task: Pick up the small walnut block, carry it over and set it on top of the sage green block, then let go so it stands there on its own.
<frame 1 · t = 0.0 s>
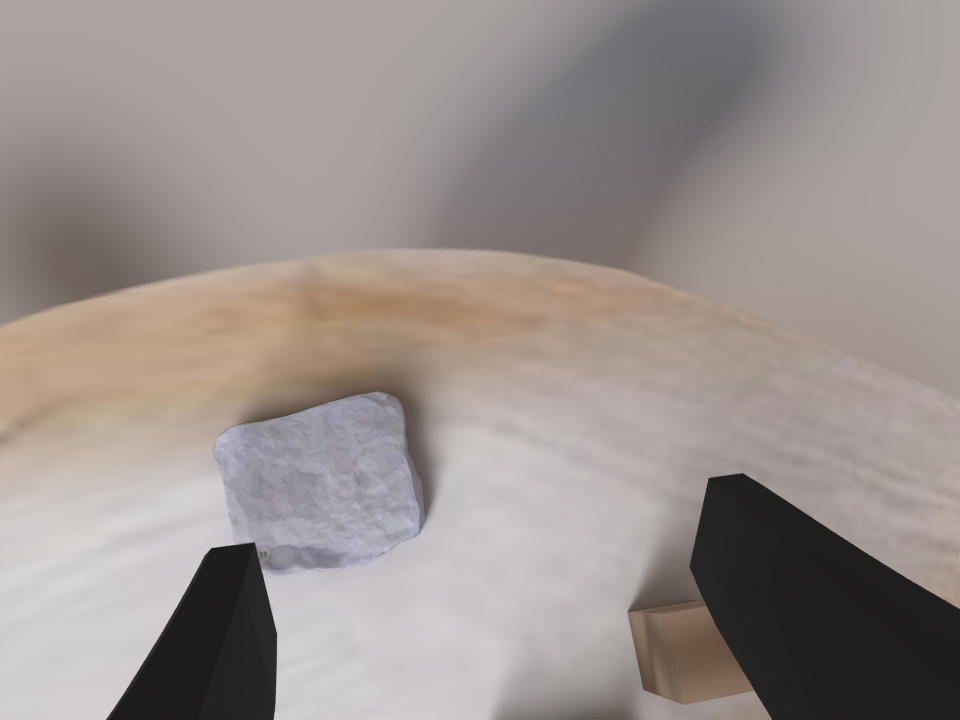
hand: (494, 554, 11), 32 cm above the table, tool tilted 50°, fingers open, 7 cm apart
walnut block: (669, 643, 41), on the table
stone block: (328, 494, 42), on the table
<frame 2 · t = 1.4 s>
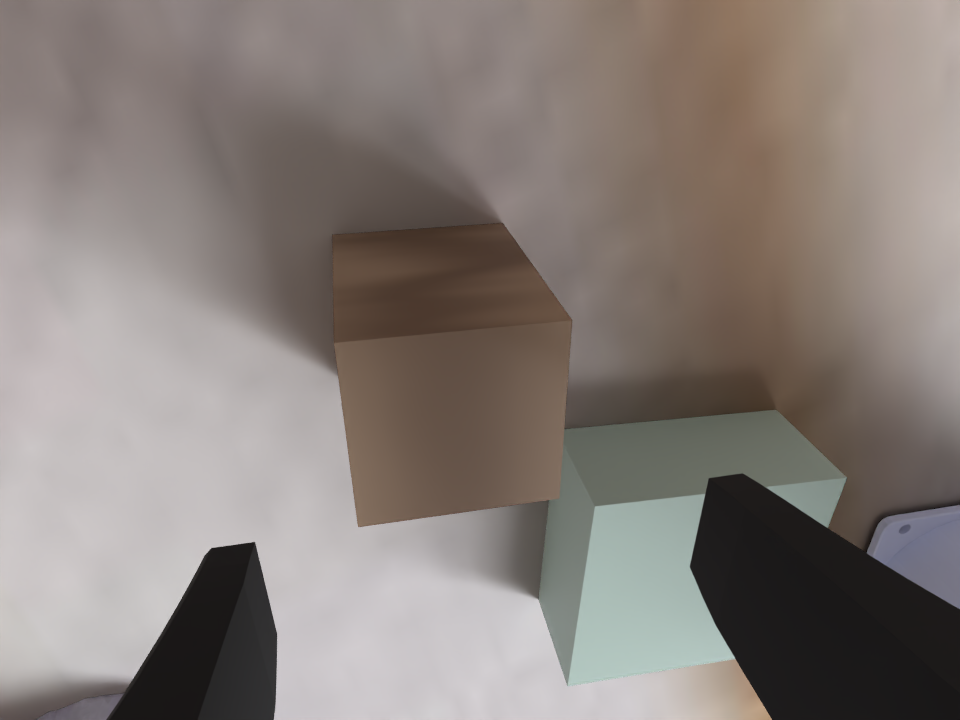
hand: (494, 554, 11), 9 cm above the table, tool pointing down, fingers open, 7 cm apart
sage block: (648, 504, 25), on the table
walnut block: (423, 305, 19), on the table
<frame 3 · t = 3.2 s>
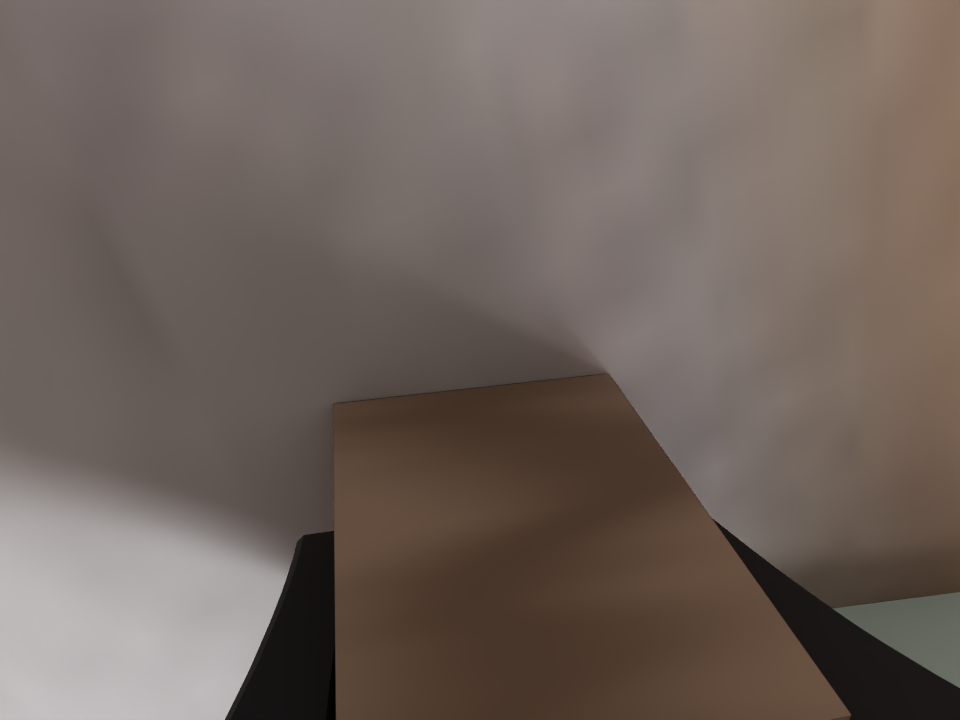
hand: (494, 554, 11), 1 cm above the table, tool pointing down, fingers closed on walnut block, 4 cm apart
sage block: (769, 703, 18), on the table
walnut block: (476, 495, 12), on the table, touching gripper
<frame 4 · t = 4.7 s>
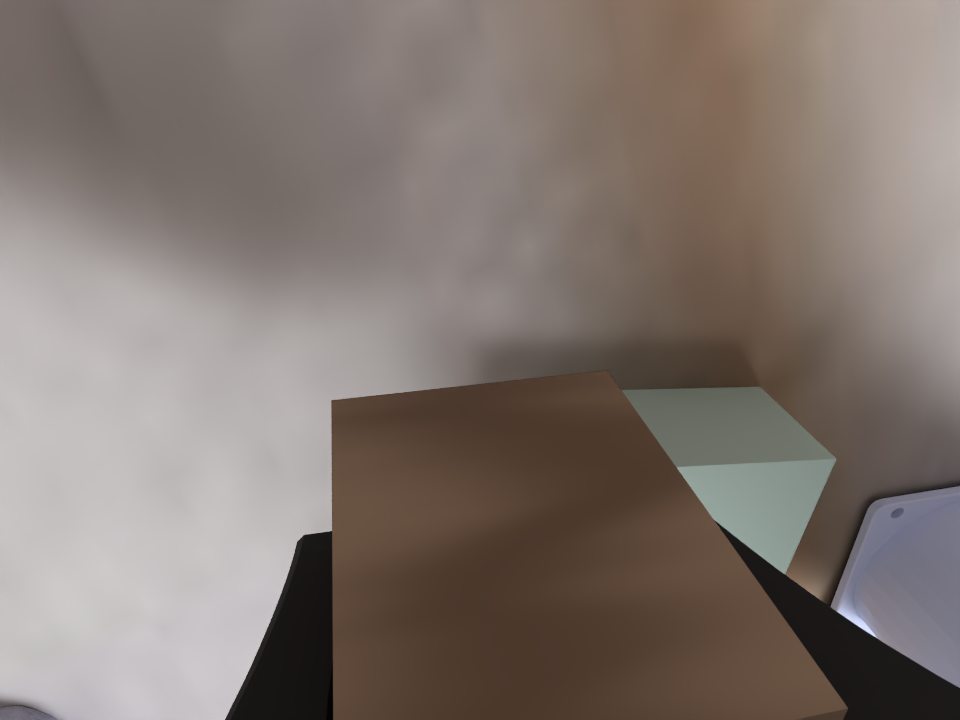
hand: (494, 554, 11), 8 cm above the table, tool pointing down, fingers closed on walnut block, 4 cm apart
sage block: (615, 485, 22), on the table
walnut block: (475, 492, 12), point 7 cm above the table, touching gripper
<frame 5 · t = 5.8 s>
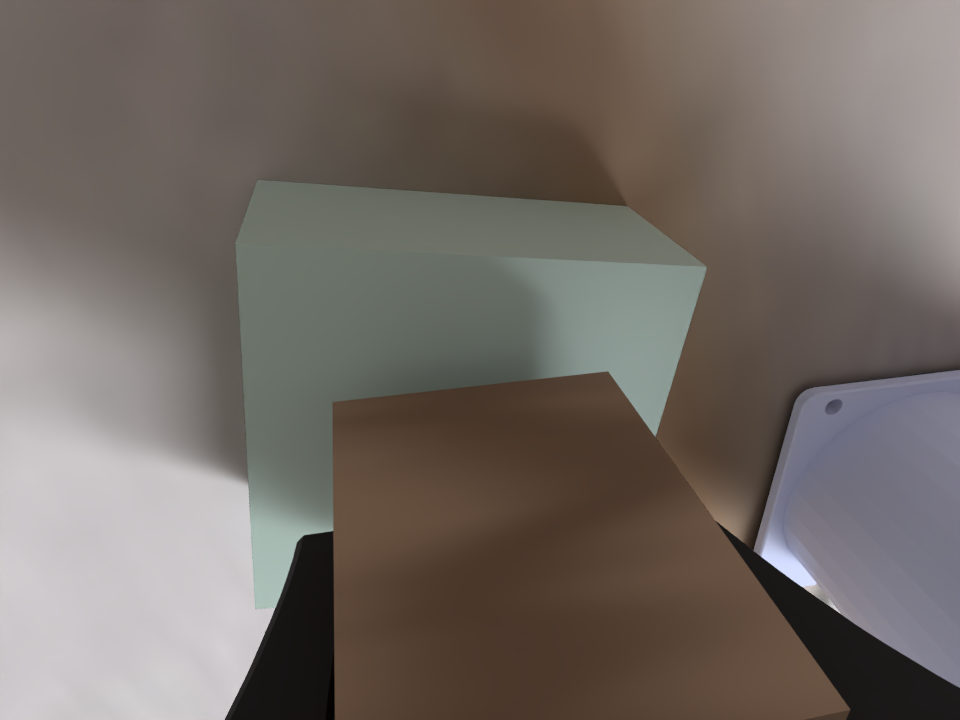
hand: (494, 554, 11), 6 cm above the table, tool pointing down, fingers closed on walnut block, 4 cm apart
sage block: (435, 352, 16), on the table
walnut block: (476, 493, 12), point 5 cm above the table, touching gripper
when the fingers open (6 cm above the table, at t = 6.4 s): walnut block drops 1 cm, point 4 cm above the table.
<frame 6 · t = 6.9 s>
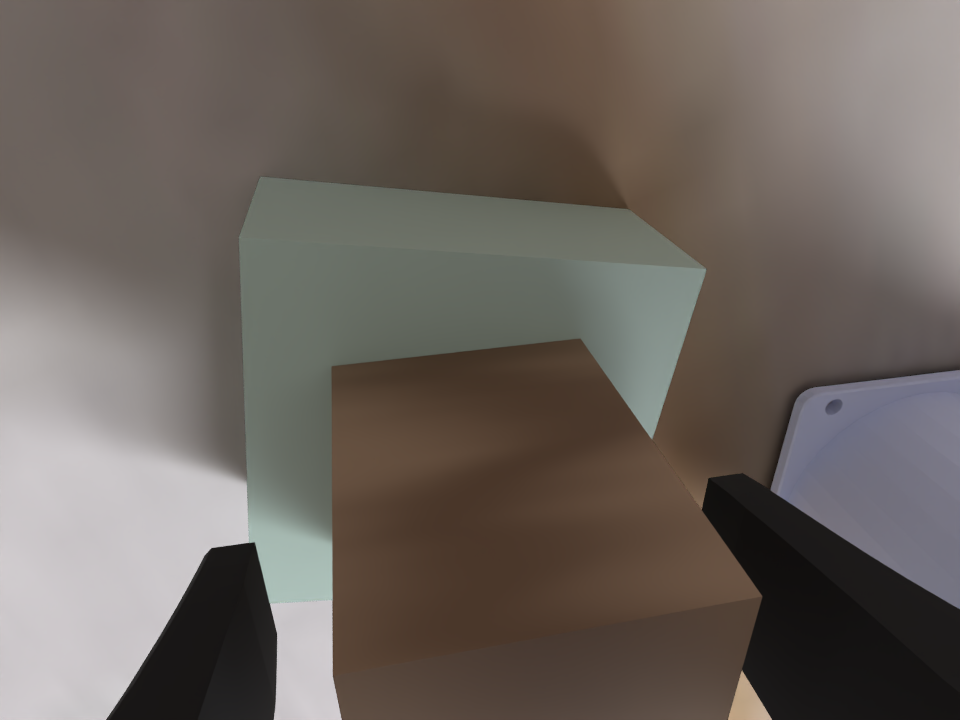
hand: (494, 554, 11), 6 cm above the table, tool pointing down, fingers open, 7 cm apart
sage block: (434, 350, 16), on the table
walnut block: (463, 452, 13), point 4 cm above the table
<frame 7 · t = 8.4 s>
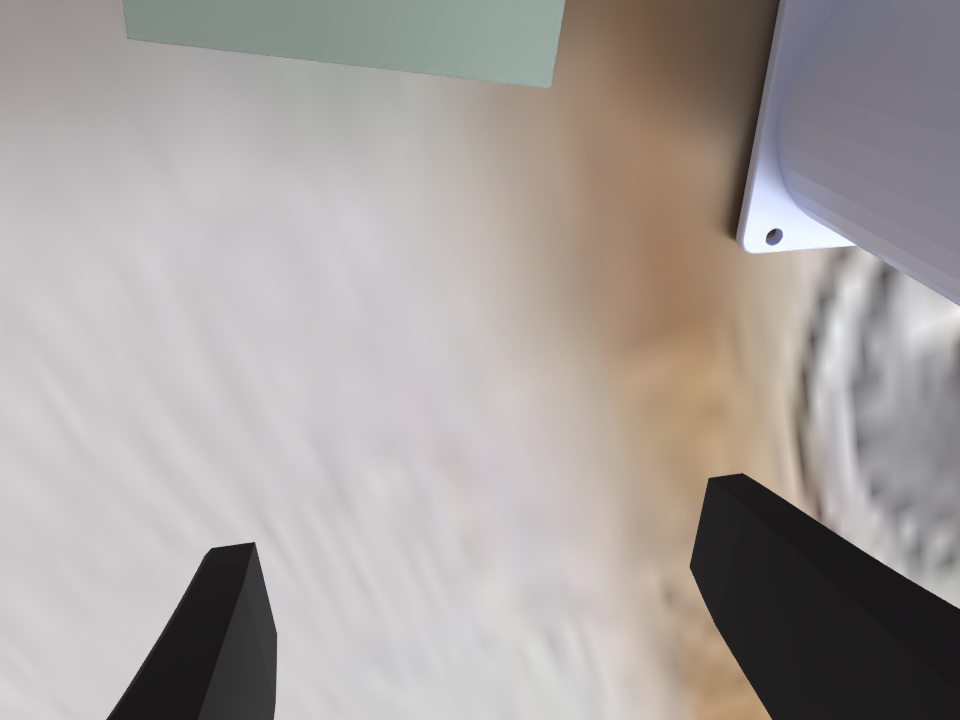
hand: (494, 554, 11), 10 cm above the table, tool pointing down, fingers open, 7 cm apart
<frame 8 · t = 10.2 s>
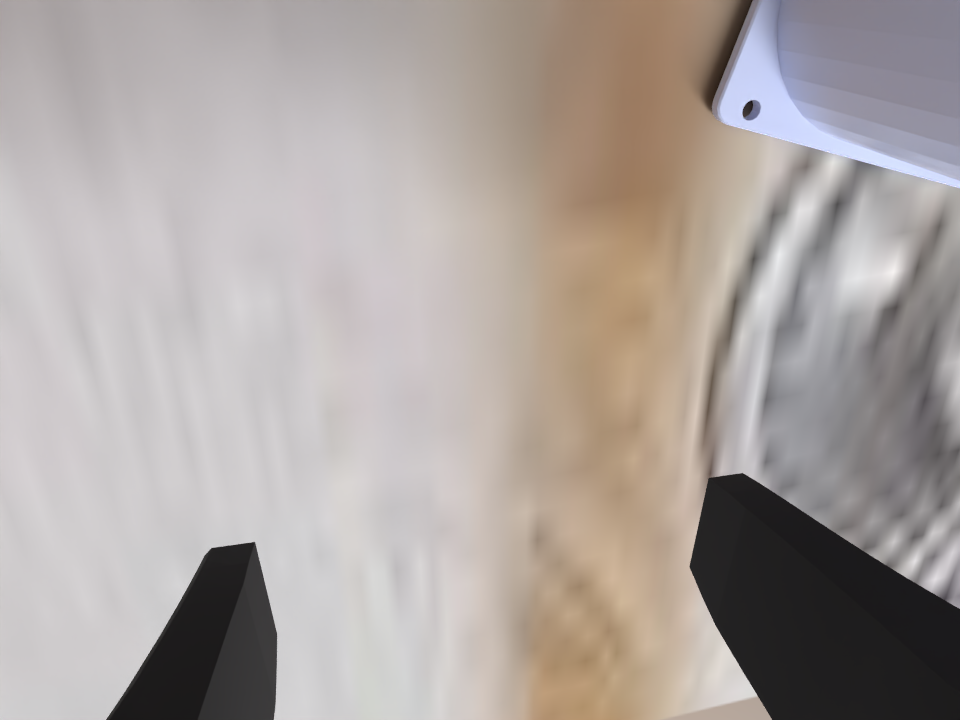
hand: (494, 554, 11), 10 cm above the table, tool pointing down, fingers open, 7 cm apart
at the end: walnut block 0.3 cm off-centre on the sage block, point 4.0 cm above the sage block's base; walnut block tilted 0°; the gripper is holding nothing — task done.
